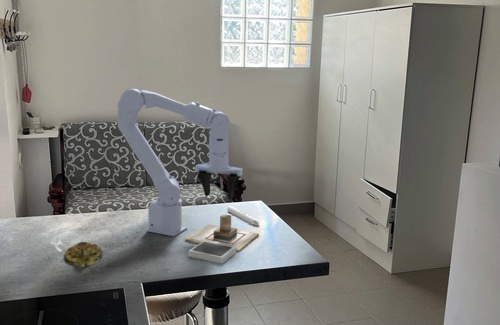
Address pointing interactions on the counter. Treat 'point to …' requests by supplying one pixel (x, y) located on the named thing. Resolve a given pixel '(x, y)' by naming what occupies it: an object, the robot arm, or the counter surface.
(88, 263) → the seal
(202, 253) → the ink pad
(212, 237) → the wooden board
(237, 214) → the marker
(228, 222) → the stamp
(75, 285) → the counter surface
